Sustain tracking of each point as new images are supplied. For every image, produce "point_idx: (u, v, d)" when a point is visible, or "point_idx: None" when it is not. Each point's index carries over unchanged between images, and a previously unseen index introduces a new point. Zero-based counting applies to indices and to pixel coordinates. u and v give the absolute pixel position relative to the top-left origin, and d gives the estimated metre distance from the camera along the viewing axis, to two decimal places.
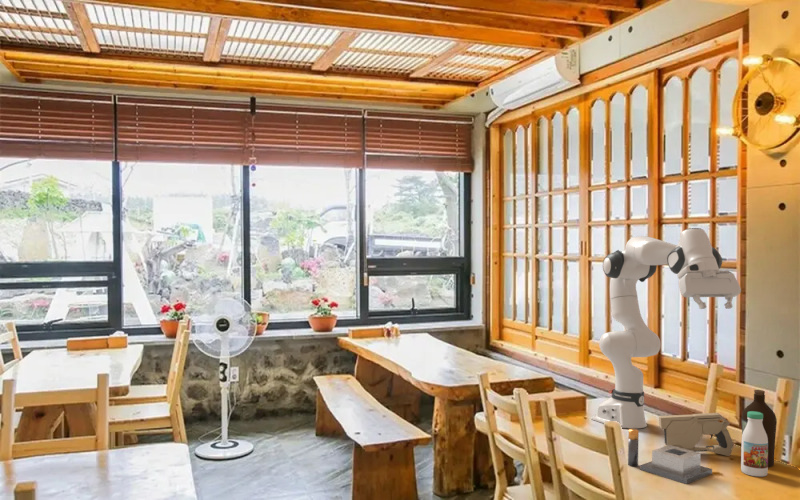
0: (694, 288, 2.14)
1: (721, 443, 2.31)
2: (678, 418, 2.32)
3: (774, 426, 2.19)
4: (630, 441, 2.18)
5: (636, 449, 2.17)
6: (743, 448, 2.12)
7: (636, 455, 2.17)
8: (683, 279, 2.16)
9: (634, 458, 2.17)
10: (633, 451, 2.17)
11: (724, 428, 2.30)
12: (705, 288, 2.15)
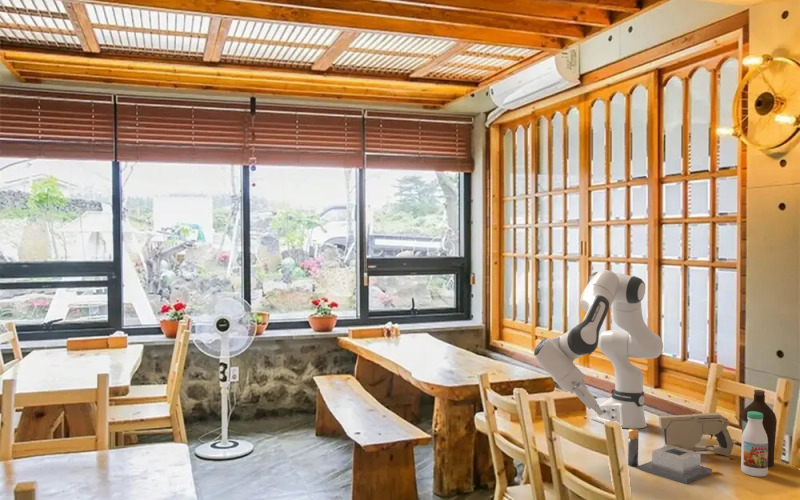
0: None
1: (721, 443, 2.31)
2: (678, 418, 2.32)
3: (774, 426, 2.19)
4: (630, 441, 2.18)
5: (636, 449, 2.17)
6: (743, 448, 2.12)
7: (636, 455, 2.17)
8: None
9: (634, 458, 2.17)
10: (633, 451, 2.17)
11: (724, 428, 2.30)
12: None
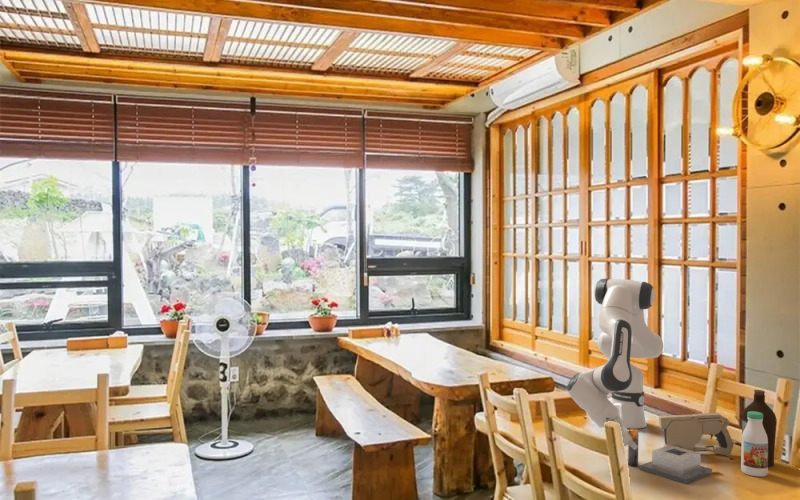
0: None
1: (721, 443, 2.31)
2: (678, 418, 2.32)
3: (774, 426, 2.19)
4: None
5: (636, 449, 2.17)
6: (743, 448, 2.12)
7: (636, 455, 2.17)
8: None
9: (634, 458, 2.17)
10: (633, 451, 2.17)
11: (724, 428, 2.30)
12: None
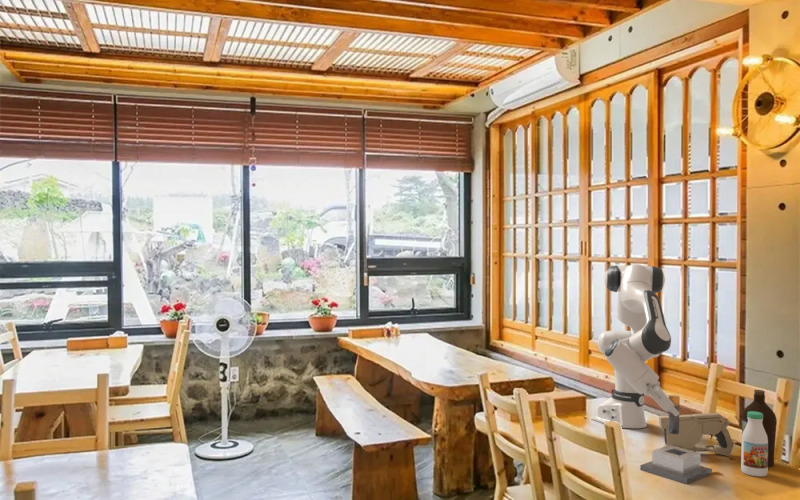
0: None
1: (721, 443, 2.31)
2: None
3: (774, 426, 2.19)
4: None
5: (677, 416, 2.12)
6: (743, 448, 2.12)
7: (677, 422, 2.12)
8: None
9: (675, 425, 2.12)
10: (674, 418, 2.12)
11: (724, 428, 2.30)
12: None
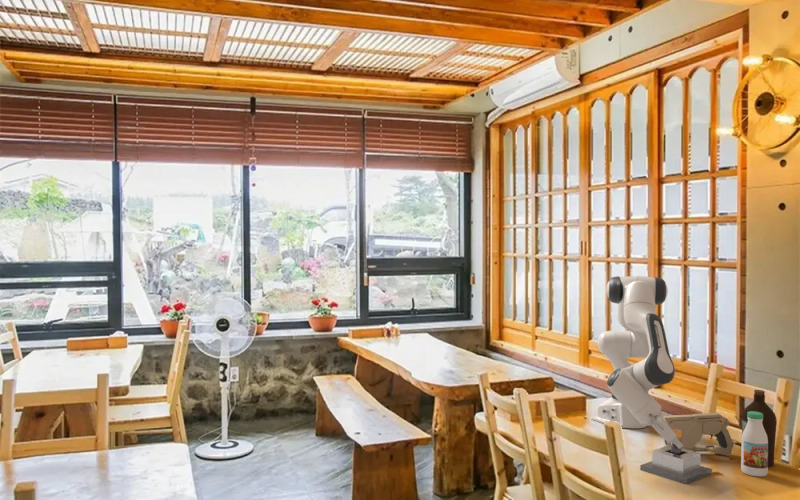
0: None
1: (721, 443, 2.31)
2: (678, 418, 2.32)
3: (774, 426, 2.19)
4: None
5: (679, 450, 2.12)
6: (743, 448, 2.12)
7: None
8: None
9: None
10: (676, 452, 2.12)
11: (724, 428, 2.30)
12: None
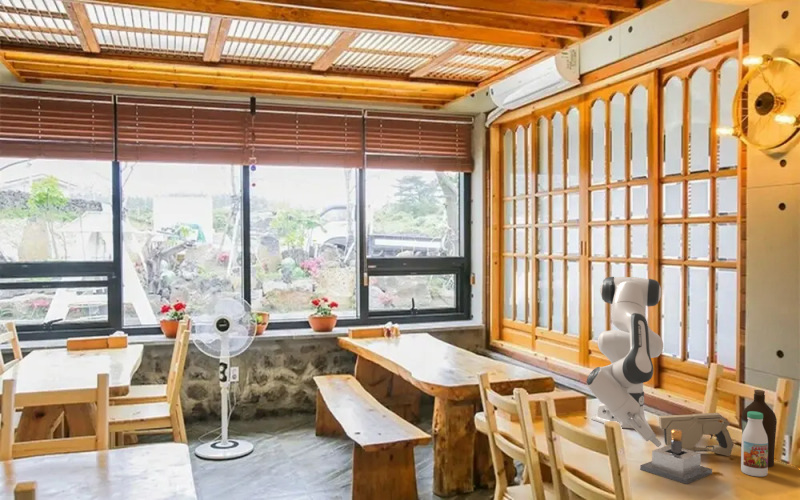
0: None
1: (721, 443, 2.31)
2: (678, 418, 2.32)
3: (774, 426, 2.19)
4: (673, 442, 2.12)
5: (679, 450, 2.12)
6: (743, 448, 2.12)
7: None
8: None
9: None
10: (677, 452, 2.12)
11: (724, 428, 2.30)
12: None
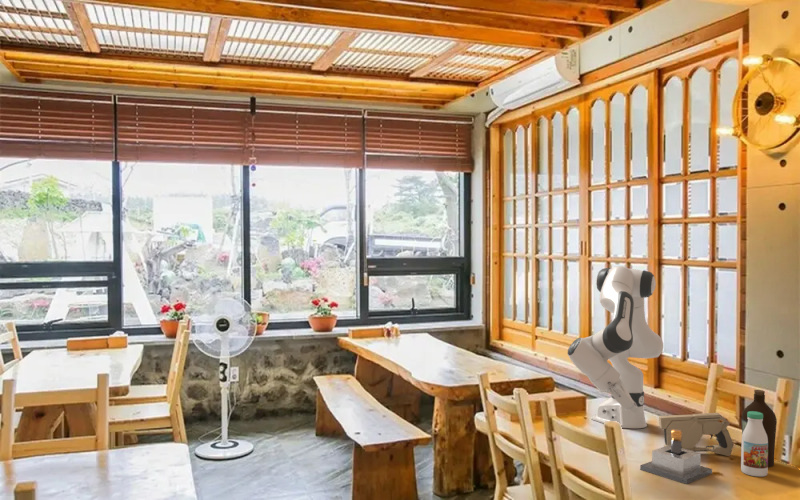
0: None
1: (721, 443, 2.31)
2: (678, 418, 2.32)
3: (774, 426, 2.19)
4: (673, 442, 2.12)
5: (679, 450, 2.12)
6: (743, 448, 2.12)
7: None
8: None
9: None
10: (676, 452, 2.12)
11: (724, 428, 2.30)
12: None
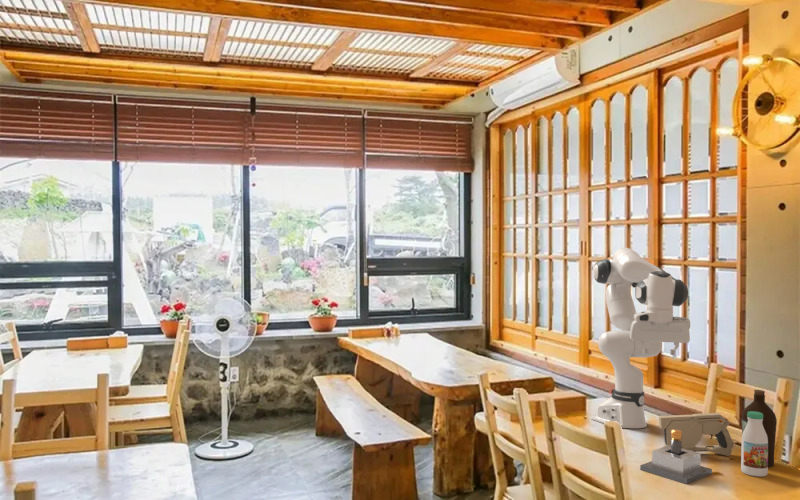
0: (639, 336, 2.35)
1: (721, 443, 2.31)
2: (678, 418, 2.32)
3: (774, 426, 2.19)
4: (673, 442, 2.12)
5: (679, 450, 2.12)
6: (743, 448, 2.12)
7: None
8: (632, 326, 2.36)
9: None
10: (676, 452, 2.12)
11: (724, 428, 2.30)
12: (651, 337, 2.34)
